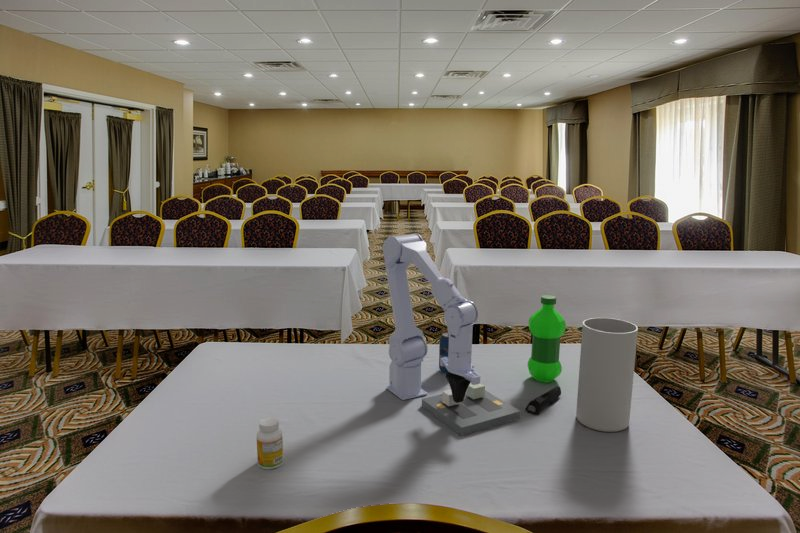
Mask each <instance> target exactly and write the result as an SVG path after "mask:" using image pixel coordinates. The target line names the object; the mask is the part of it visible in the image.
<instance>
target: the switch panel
mask: <svg viewBox="0 0 800 533" xmlns="http://www.w3.org/2000/svg"><path fill="white" fill-rule="evenodd" d="M421 407H423V408H424V409H425V410H426V411H427V412H429V413H430V414H432V415H433V416H434V417H435V418H437V419H439V420H440V421H441V422H443V423H444V424H446V425H447V426H448V427H449V428H450V429H452V430H454V431H455V432H456V433H458V434H459V435H460V436H464V435H465V436H466V435H468V434H471V433H476V432H479V431H482V430H486V429H488V428H491V427H492V428H493V427H495V426H499V425H502V424H505V423H506V424H507V423H509V422H512V421H516V420H519V419H521V410H520V409H518V408H516V407H514V406H513V405H512V404H510V403H507V402H506V401H503V399H500V398H499V397H497V396H496V395H494V394H492V393H491V392H489V391H487V390H486V389H485V397H481V398H477V399H472V398H471V397H469V396H467V390H466V393H465V396H464V400H463V402H460V404H456V405H452V406H447V405H446V404H445V403H443V402H442V393H440V394H437V395H432V396H428V397H424V398H422V399H421Z"/></svg>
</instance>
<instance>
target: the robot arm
mask: <svg viewBox="0 0 800 533" xmlns="http://www.w3.org/2000/svg"><path fill="white" fill-rule="evenodd" d="M381 249H382V253H383V258H384V259H383V260H384V264H385V272H386V279H387V284H388V290H389V297H390V302H391V303H390V304H391V308H392V314H393V315H392V316H393V322H394V326H395V329H394V331H393V332H392V333H391V334H390V336H389V338H388V343H389V345H388V346H389V347H388V356H389V358H390V361H391V362H390V364H389V371H388V372H389V373H388V374H389V375H388V378H389V381H388V384H389V385H387V386H386V389H387V390H388V391H390V392H391V393H393V394H394V395H395V396H396V397H397V398H399V399H400V400H402V401H406V400H411V399H414V398H418V397H423V396H426V395H428V392H427V391H426V390H424V389H423V388H422V362H424V357H426V356H427V354H428V343H427V341H426V339H425V337H424V332H423V330H421V329H420V328H418V327H417V326H416V324H415V317H414V311H413V304H412V298H411V292H410V287H409V286H410V284H409V280H408V273H407V269H408V267H409V266H410V265H411V264H412V265H414V266H415V267H416V268H417V269H418V271H419V272H420V273H421V274H422V275H423V276H424V278H425V279H426V280H427V281H428V284H430V285H431V289H430V293H431V294H432V297H434V298H435V300H436V301H437V303H438V304H439V305H440V307H441V308H442V310H443V311H444V312H445V313H443V317H444V321H445V323H446V325H447V330H446V331H448V333H449V350H448V357H444V358H440V365H441V366H445V367H446V368H447V370H448V371H449V372H450V373H447V374H445V378H446V380H447V382H448V384H449V387H450V389H451V391H452V396H453V400H454V401H455V402H456V403H459V402H463V400H464V396H465V393H466V390H467V388H468V386H469V384H472V385H477V384H480V383H481V376H480V375H479V374H478V373H477V371H476V370H475V369H474V368H475V364H473V363H472V350H473V349H472V348H473V327H474V323H476V322H477V320H478V317H479V310H478V308H477V306H476V304H475V302H474V301H471V300H468V299H467V298H466V297H463V295H462V294H461V293H460V291H459V290H458V288H457V287H456V286H455V283H454V282H453V280H451V279H450V278H447V277H443V276H442V274H441V272H440V270H439V269H438V267H437V266H436V264H435V262H434V261H433V259H432V257H431V256H430V254H429V253H428V251H427V249H428V246H427V243H426V241H425V240H424V238H423V237H422V236H421V235H420V234H419V233H417V232H416V233H415V232H414V233H411V234H404V235H403V234H402V235H397V236H393V235H392V236H388V237H387V238H386V239H385V241H384V242H383V245H382V248H381Z"/></svg>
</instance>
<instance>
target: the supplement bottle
mask: <svg viewBox="0 0 800 533" xmlns="http://www.w3.org/2000/svg"><path fill="white" fill-rule="evenodd" d="M258 424H259V430H258V431H257V433H256V451H257V452H256V453H257V456H256V457H257V464H258V466H259V468H260V469H263V470H273V469H277V468H279V467H280V466H282V465H283V463H284V442H283V438H284V437H283V430H282V429H281V428H280V427H279V426H280V423H279V419H278V418H276V417H264V418H262V419H261V420H260V421H259V423H258Z"/></svg>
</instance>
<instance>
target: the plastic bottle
mask: <svg viewBox="0 0 800 533" xmlns="http://www.w3.org/2000/svg"><path fill="white" fill-rule="evenodd" d="M540 303H541V304H542V307H541V308H539V309H538V310H537V311H535V312H534V313H533V314H531V316H530V317H529V318H528V329H529V332H530V333H531V335H532V340H531V354H530V355H531V356H530V357H529V359H528V361H527V369H528V371H529V374H530V375H531V377H533V379H535V380H534V381H537V382H540V383H552V382H553V381H554V380H555V379H556V378H558V377H559V376H560V375H561V373H562V371H563V367H562V364H561V361H560V349H561V348H560V347H561V337H562V336H563V335H564V334H565V332H566V329H567V324H566V320H565V318H564V317H563V316H562V314H560V313H559V312H558V310H556V309H555V305H556V304H557V297H556V296H554V295H549V294H544V295H541V296H540Z"/></svg>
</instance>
